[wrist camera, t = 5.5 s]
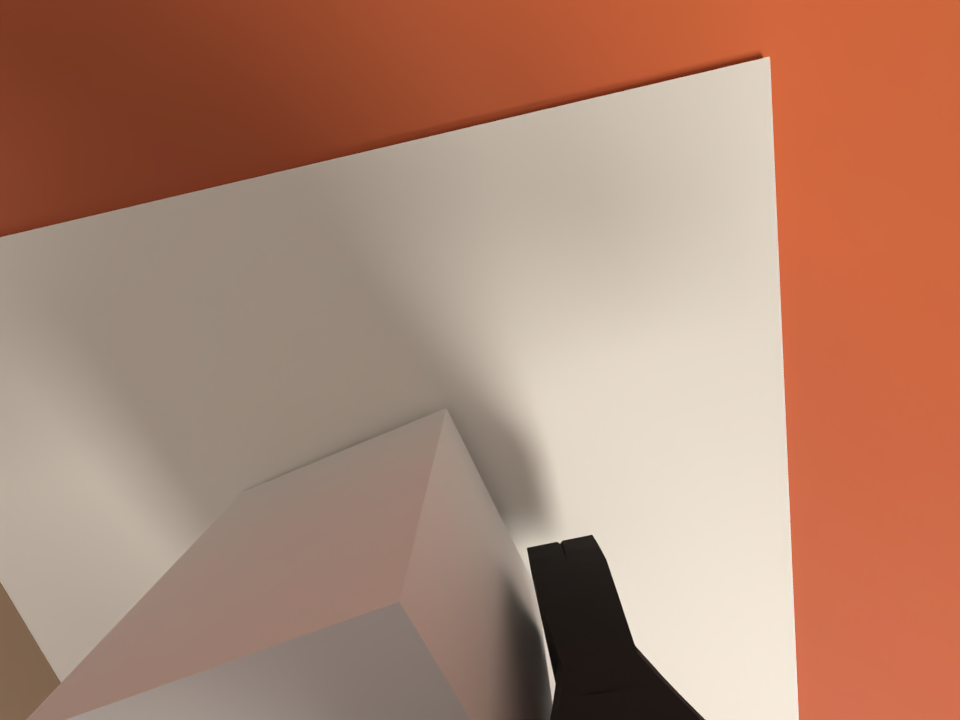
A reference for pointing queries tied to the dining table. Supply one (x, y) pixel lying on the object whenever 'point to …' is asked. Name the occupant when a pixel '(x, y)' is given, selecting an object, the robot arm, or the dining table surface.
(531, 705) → the cream white cube
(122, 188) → the dining table surface
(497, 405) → the subfloor board
